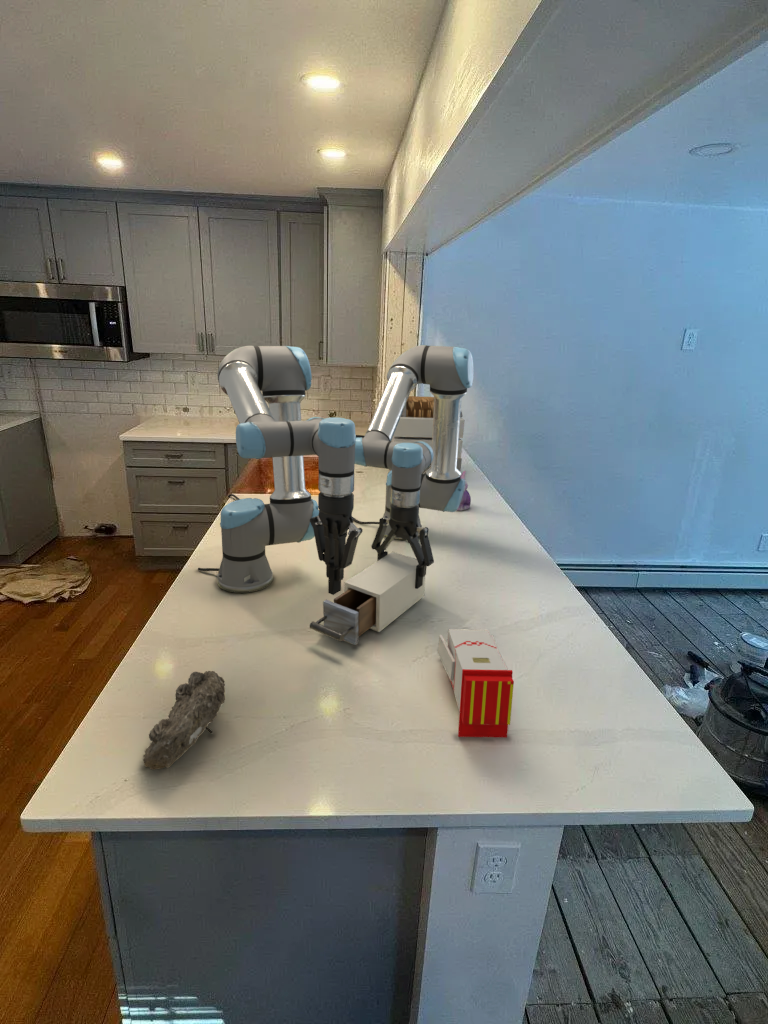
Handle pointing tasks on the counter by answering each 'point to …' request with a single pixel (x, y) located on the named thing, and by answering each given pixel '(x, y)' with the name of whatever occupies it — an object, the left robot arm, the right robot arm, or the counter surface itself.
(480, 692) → the white and red box
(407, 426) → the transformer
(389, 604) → the cabinet
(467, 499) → the figurine
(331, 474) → the left robot arm
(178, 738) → the fossil
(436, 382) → the right robot arm
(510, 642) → the counter surface
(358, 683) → the counter surface
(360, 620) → the drawer
